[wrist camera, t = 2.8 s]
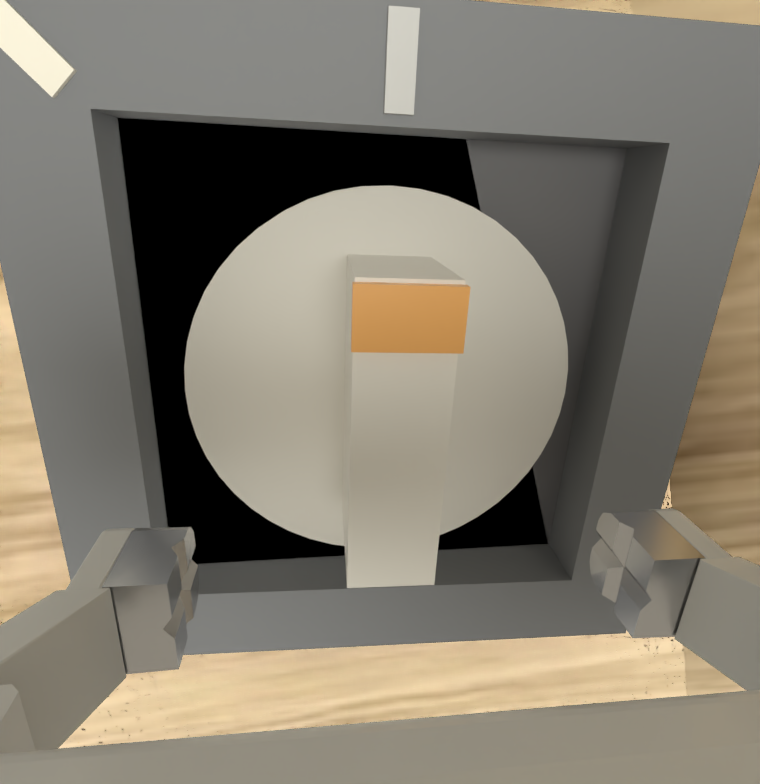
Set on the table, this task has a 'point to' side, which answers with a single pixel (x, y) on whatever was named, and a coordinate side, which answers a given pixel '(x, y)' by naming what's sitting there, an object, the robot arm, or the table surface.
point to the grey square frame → (347, 170)
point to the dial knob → (376, 373)
